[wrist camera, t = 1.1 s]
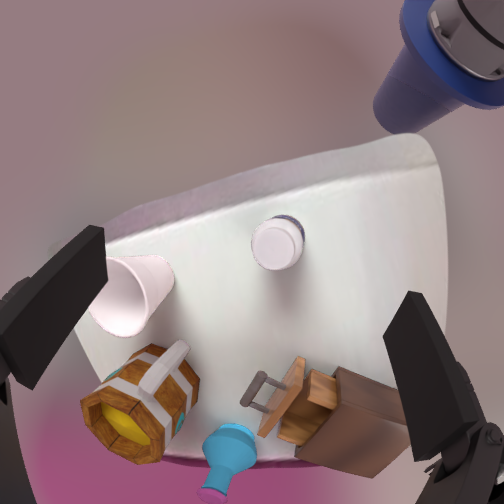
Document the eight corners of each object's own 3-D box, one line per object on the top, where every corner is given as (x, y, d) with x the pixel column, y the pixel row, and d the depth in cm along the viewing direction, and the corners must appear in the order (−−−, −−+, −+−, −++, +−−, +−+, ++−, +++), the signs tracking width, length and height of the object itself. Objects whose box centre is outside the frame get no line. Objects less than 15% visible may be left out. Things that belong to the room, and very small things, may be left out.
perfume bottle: (237, 457, 47) (215, 517, 32) (200, 430, 47) (169, 488, 32) (272, 440, 44) (255, 507, 30) (233, 410, 44) (204, 476, 30)
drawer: (240, 394, 42) (228, 422, 36) (270, 342, 40) (261, 369, 33) (334, 432, 40) (335, 462, 34) (373, 387, 38) (379, 417, 31)
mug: (181, 420, 47) (145, 476, 33) (121, 376, 48) (73, 421, 34) (236, 353, 42) (201, 419, 28) (161, 299, 43) (100, 342, 28)
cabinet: (299, 418, 42) (293, 457, 34) (338, 365, 39) (341, 403, 31) (368, 441, 41) (372, 478, 32) (410, 394, 38) (424, 430, 29)
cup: (163, 228, 41) (117, 240, 30) (200, 289, 41) (164, 319, 31) (119, 262, 43) (71, 280, 33) (152, 317, 44) (111, 348, 33)
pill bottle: (309, 220, 36) (308, 229, 27) (299, 261, 38) (293, 284, 28) (267, 209, 37) (251, 214, 28) (258, 250, 38) (239, 269, 29)
